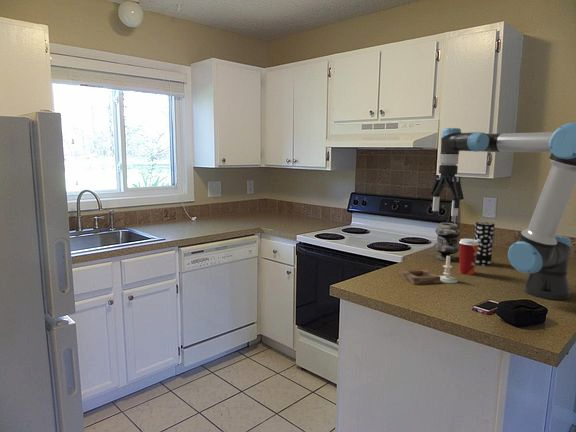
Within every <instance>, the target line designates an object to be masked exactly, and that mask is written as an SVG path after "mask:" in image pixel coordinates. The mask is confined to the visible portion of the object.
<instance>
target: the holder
mask: <svg viewBox="0 0 576 432" xmlns="http://www.w3.org/2000/svg"><path fill="white" fill-rule="evenodd" d="M439 276H440V275H437V274H436V273H433V272H431V271H429V270H427V269H425V268H422V269H421V268H418V269H417V268H416V269H401V270H399V277H401V278H403V279H404V280H405V281H407V282H409V283H411V284H412V285H426V284H427V283H428V284H440V283H441V282H440V277H439ZM428 284H427V285H428Z"/></svg>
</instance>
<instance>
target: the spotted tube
mask: <svg viewBox="0 0 576 432" xmlns="http://www.w3.org/2000/svg"><path fill="white" fill-rule="evenodd" d="M495 225H496V224H495V223H493V222H485V221H478V222H475V224H474V226H475V227H474V238H473V239H474V240H477V241H478V243H479V245H478V250H477V256H476V263H475V266H482V267H489V266H491V265H492V258H493V257H492V256H493V246H494V235H495Z"/></svg>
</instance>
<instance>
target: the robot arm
mask: <svg viewBox="0 0 576 432" xmlns="http://www.w3.org/2000/svg"><path fill="white" fill-rule="evenodd" d="M460 152H478V153H479V152H489V153H501V152H503V153H550V156H549V159H548V160H549V162H550V164H551V167H550V170H549V173H548V175H547V177H546V180H545V183H544V186H543V189H542V191H541V192H540V195H539V199H538V201H537V204H536V205H535V209H534V211H533V213H532V216H531V219H530V222H529V224H528V227H527V228H525V229H524V230H521V232H520V235H519V237H518V240H517V241H516V242H514V243H512V244H511V245H509V248H508V250H507V258H508V261H509V263H510V265H511V267H512V268H514V269H515V270H516V271H517V272H519V273H523V274H529V276H528V278H527V281H526V282H525V283H524V288H523V289H524V292H526V293H527V294H529V295H532V296H535V297H538V298H543V299H547V300H548V299H549V300H558V301H561V300H569V299H570V298H571V293H572V292H571V291H572V290H571V289H570V287H569V286H570V285H569V281H568V271H569V270H568V269H569V264H570V256H571V255H570V253H571V248H572V246H571V244H572V242H571V239H570V238H569V237H566V236H563V235H556V233H557V231H558V229H559V227H560V224H561V222H562V219H563V217H564V215H565V212H566V210H567V207H568V205H569V203H570V202H569V201H570V200H571V197H572V195H573V193H574V190H575V189H576V121H574V122H568V123H564V124H563V125H561V126H559V127H558V128H556V129H555V130H554V131H540V132H539V131H538V132H510V133H509V132H508V133H507V132H505V133H487V132H486V133H485V132H481V131H475V132H462V129H461V128H457V127H451V128H450V127H448V128H447V127H445V128H443V129H442V133H441V139H440V153H439V164H440V165H439V166H438V173H439V174H436V175H435V180H434V182H433V185H432V188H431V189H430V192H429V194H430V195H432V209H431V210H432V212H440V211H439V209H440V198H441V197H440V194H441V193H442V192H443V190H444V188H445V187H447V188H448V189H449V191H450V194H451V196H452V198H453V199H452V200H451V201H452V202H451V214H450V216H451V217H458V215H459V207H460V201H462V200H464V194H463V190H462V184H461V176H456V175H457V174H458V169H459V167H458V164H459V157H460V156H459V155H460Z"/></svg>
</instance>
